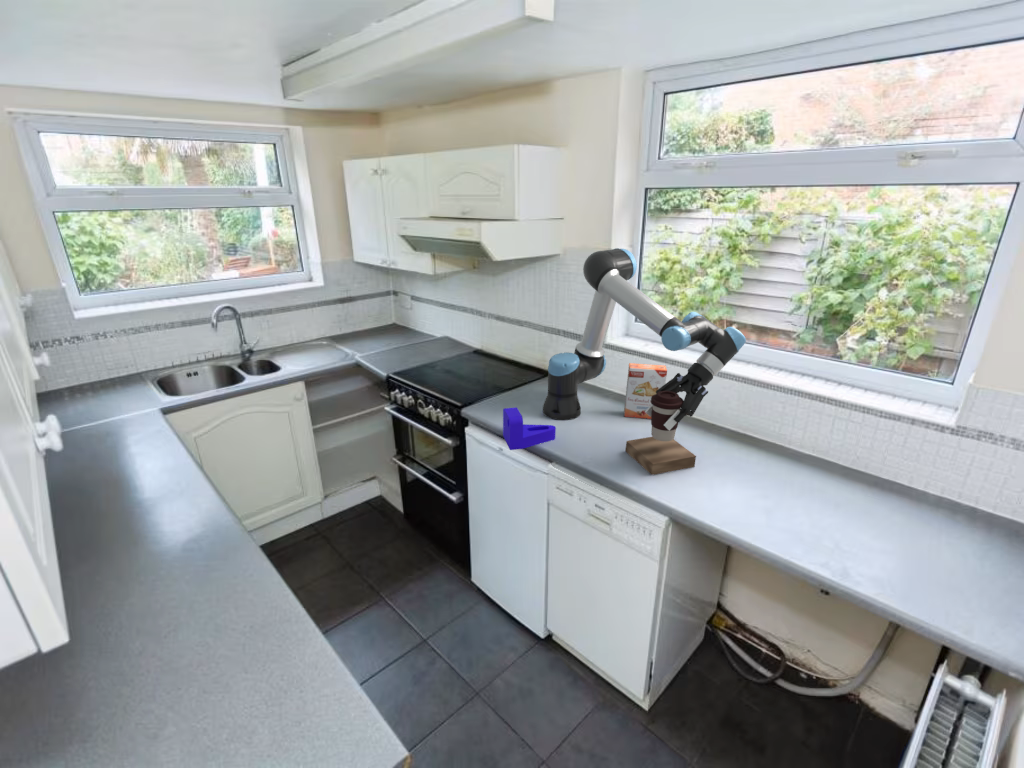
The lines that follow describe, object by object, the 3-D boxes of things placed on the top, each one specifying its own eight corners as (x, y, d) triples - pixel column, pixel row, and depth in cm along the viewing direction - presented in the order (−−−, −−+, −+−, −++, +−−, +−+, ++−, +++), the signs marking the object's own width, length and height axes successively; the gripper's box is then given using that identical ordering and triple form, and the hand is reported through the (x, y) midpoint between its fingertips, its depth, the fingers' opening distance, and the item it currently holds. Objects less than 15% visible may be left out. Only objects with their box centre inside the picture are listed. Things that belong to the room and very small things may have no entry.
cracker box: (624, 417, 197) (629, 367, 190) (623, 411, 203) (628, 362, 195) (661, 420, 195) (667, 369, 187) (659, 414, 201) (665, 364, 193)
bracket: (509, 450, 173) (510, 419, 169) (503, 436, 183) (503, 406, 179) (559, 444, 177) (561, 414, 173) (550, 431, 187) (551, 401, 182)
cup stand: (625, 451, 173) (626, 440, 171) (665, 444, 177) (666, 434, 176) (651, 475, 158) (653, 464, 157) (694, 466, 163) (696, 456, 162)
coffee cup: (648, 442, 161) (652, 399, 155) (646, 428, 170) (650, 387, 164) (680, 445, 159) (686, 401, 154) (676, 431, 168) (682, 389, 163)
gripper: (735, 388, 152) (684, 442, 153) (688, 365, 172) (643, 413, 173) (723, 374, 149) (671, 429, 150) (677, 351, 168) (631, 401, 170)
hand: (656, 420), depth 161 cm, fingers closed on coffee cup, 10 cm apart
